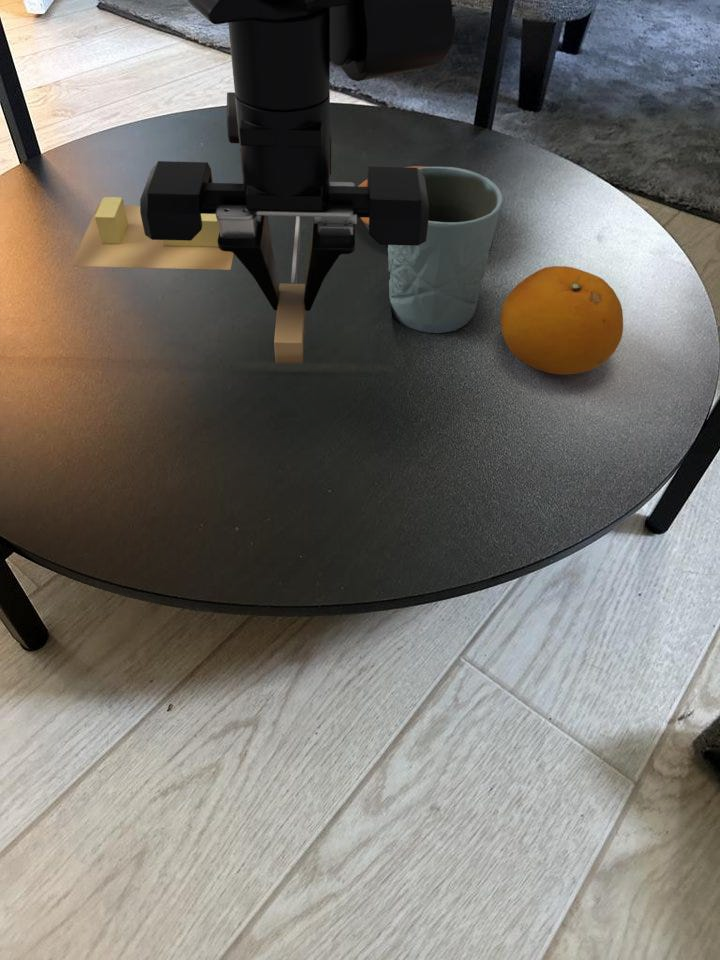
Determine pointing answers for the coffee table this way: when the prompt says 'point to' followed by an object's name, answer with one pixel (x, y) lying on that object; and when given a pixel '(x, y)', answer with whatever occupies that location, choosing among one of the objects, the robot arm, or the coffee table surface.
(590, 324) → the fruit
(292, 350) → the chisel
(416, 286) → the green ceramic cup
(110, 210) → the butter pat
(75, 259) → the cutting board
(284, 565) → the coffee table surface
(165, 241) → the butter stick
